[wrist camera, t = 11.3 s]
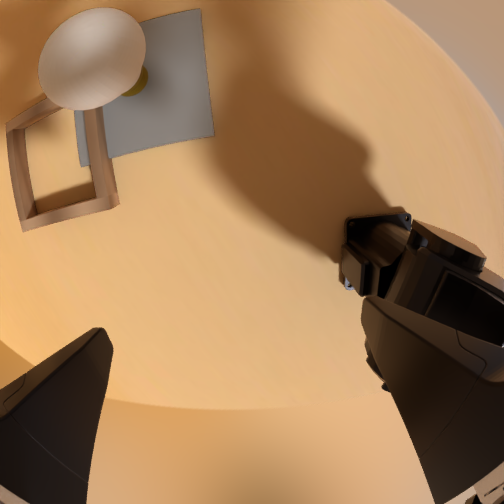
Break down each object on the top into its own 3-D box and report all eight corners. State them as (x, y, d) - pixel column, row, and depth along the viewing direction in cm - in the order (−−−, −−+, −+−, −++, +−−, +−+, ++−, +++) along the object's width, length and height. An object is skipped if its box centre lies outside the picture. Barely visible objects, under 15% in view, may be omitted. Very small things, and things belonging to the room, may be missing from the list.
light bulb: (88, 99, 15) (1, 84, 6) (132, 38, 14) (68, -17, 5) (141, 133, 17) (63, 127, 8) (189, 68, 15) (150, 5, 6)
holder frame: (103, 80, 15) (93, 75, 14) (119, 204, 19) (110, 209, 18) (17, 123, 15) (5, 123, 14) (33, 226, 19) (22, 232, 18)
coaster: (200, 11, 14) (199, 8, 13) (214, 135, 18) (214, 135, 18) (76, 50, 14) (73, 49, 13) (83, 166, 18) (80, 167, 17)
